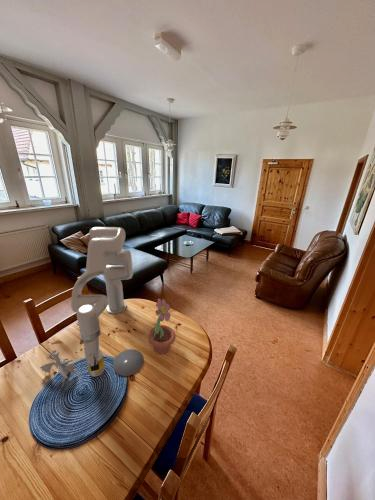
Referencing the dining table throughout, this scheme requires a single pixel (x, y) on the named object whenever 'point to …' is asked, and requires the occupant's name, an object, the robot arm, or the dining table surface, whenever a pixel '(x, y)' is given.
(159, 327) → the decorative flower
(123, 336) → the dining table surface
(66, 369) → the fairy figurine
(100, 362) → the supplement bottle
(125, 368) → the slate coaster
